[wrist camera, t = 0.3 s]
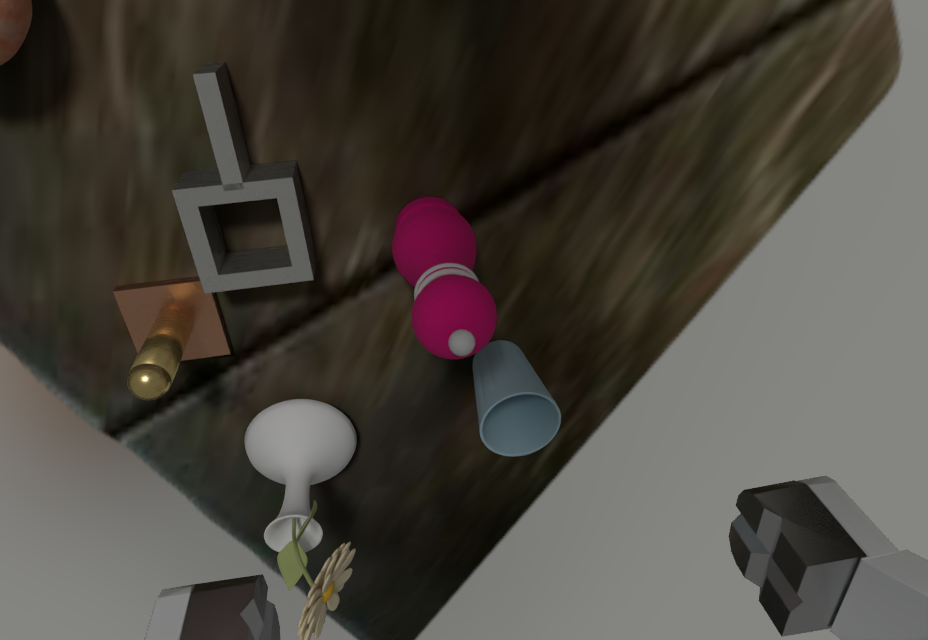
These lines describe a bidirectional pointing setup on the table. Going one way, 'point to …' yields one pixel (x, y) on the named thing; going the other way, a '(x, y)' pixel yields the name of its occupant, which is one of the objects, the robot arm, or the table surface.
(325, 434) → the flower in vase
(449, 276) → the pepper mill
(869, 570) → the robot arm
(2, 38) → the orange pumpkin
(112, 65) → the table surface
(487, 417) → the cup
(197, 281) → the post
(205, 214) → the steel link
